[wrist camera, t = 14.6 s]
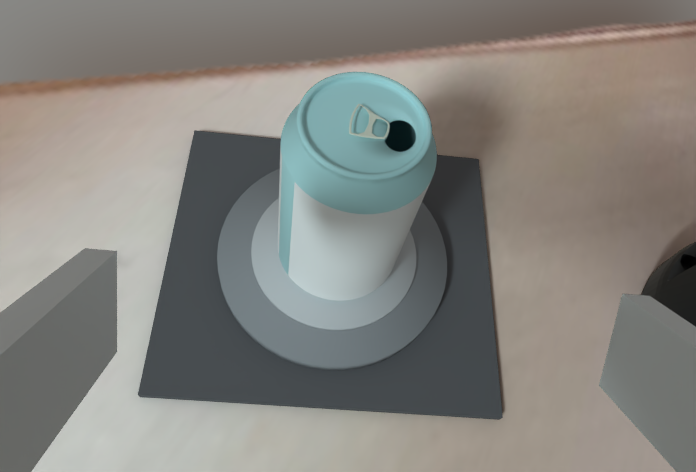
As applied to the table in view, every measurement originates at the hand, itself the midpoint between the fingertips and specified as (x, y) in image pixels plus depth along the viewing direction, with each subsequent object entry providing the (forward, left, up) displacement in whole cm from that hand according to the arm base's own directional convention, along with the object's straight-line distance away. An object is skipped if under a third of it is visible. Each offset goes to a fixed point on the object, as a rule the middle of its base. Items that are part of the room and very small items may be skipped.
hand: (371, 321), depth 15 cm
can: (0, -11, -17) cm, 20 cm away
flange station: (0, -11, -18) cm, 21 cm away
